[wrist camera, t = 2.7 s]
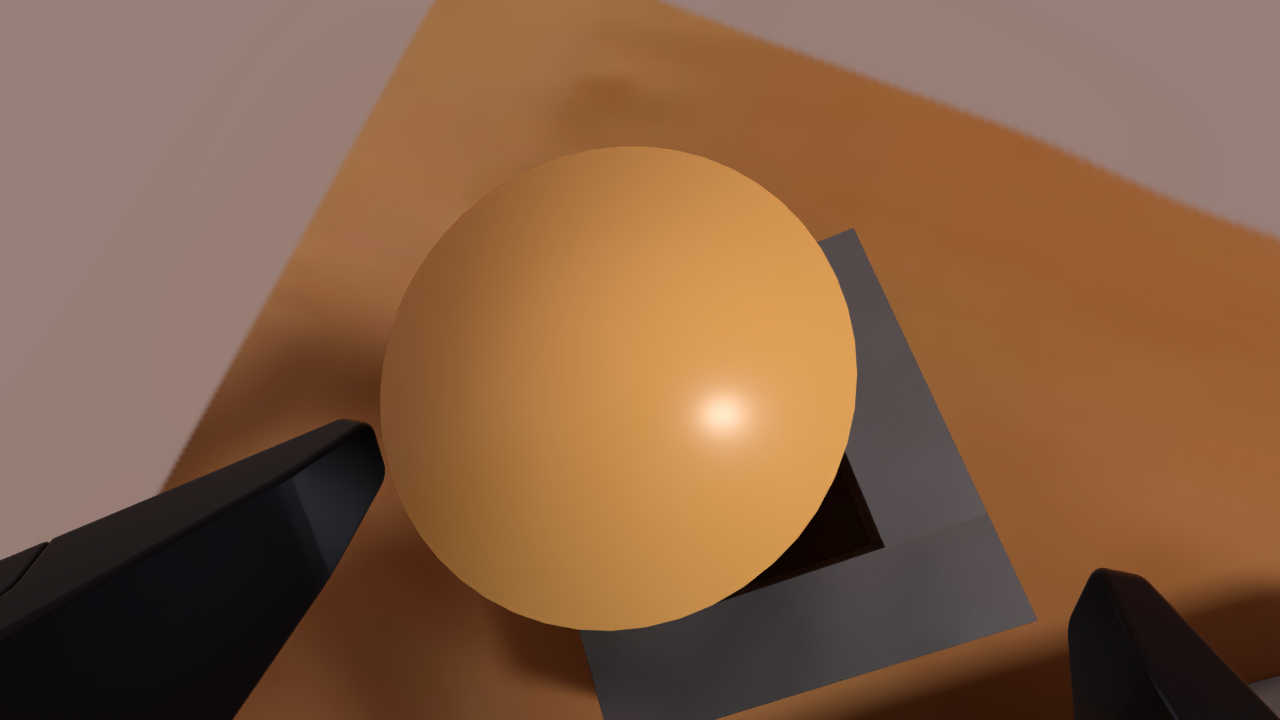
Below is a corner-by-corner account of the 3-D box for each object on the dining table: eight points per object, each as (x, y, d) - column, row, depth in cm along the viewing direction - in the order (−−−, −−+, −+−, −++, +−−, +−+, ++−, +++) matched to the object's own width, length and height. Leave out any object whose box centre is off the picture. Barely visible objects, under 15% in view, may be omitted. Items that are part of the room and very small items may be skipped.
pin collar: (645, 713, 17) (612, 750, 14) (551, 390, 19) (506, 365, 16) (995, 603, 15) (1037, 619, 13) (846, 275, 18) (853, 227, 15)
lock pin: (709, 575, 17) (437, 699, 5) (664, 444, 18) (342, 250, 6) (842, 530, 17) (951, 529, 4) (789, 398, 18) (745, 75, 5)
